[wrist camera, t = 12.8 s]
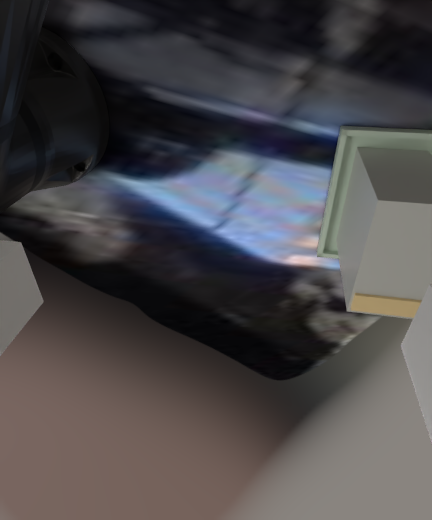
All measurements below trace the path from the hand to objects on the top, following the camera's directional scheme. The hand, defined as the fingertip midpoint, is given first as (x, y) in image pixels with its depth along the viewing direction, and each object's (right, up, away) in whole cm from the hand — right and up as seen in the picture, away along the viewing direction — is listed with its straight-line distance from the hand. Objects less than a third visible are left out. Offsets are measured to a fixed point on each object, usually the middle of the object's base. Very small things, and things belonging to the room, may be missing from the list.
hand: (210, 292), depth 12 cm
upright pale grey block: (+16, +7, +23) cm, 29 cm away
